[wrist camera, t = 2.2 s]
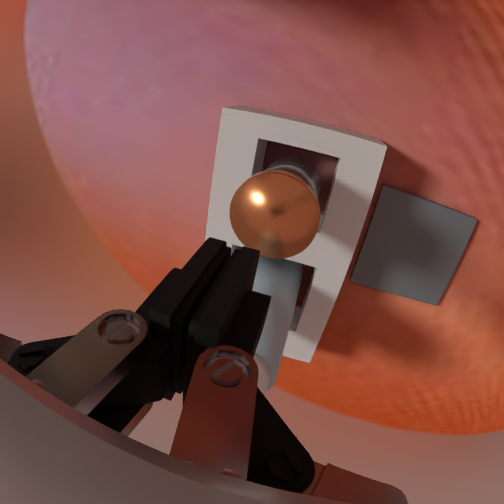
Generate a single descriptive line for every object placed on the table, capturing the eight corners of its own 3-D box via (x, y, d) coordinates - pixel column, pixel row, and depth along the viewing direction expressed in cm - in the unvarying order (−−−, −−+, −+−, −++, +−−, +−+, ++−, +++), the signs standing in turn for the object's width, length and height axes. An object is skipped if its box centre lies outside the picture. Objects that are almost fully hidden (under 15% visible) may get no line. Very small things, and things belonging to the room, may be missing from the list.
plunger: (332, 160, 19) (329, 187, 13) (316, 222, 21) (306, 268, 16) (265, 144, 19) (236, 164, 14) (254, 205, 21) (224, 245, 16)
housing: (380, 139, 19) (387, 146, 17) (313, 338, 28) (309, 362, 26) (238, 105, 21) (222, 107, 18) (209, 307, 30) (196, 328, 27)
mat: (475, 217, 20) (477, 219, 19) (435, 302, 24) (436, 305, 23) (382, 184, 21) (383, 185, 20) (349, 278, 25) (349, 281, 24)
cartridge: (309, 252, 25) (282, 363, 15) (295, 298, 27) (264, 411, 17) (252, 236, 25) (192, 334, 15) (243, 283, 28) (189, 386, 18)
